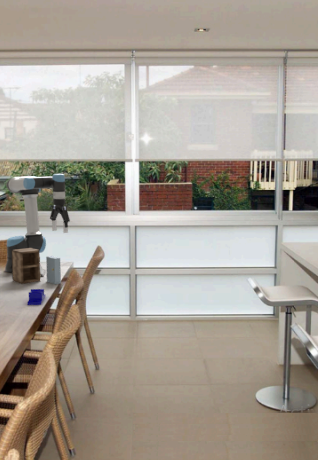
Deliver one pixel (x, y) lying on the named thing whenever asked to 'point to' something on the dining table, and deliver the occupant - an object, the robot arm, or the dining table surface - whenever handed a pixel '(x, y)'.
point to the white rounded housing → (42, 271)
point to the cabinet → (26, 265)
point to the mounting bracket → (36, 297)
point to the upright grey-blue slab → (53, 270)
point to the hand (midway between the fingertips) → (60, 231)
